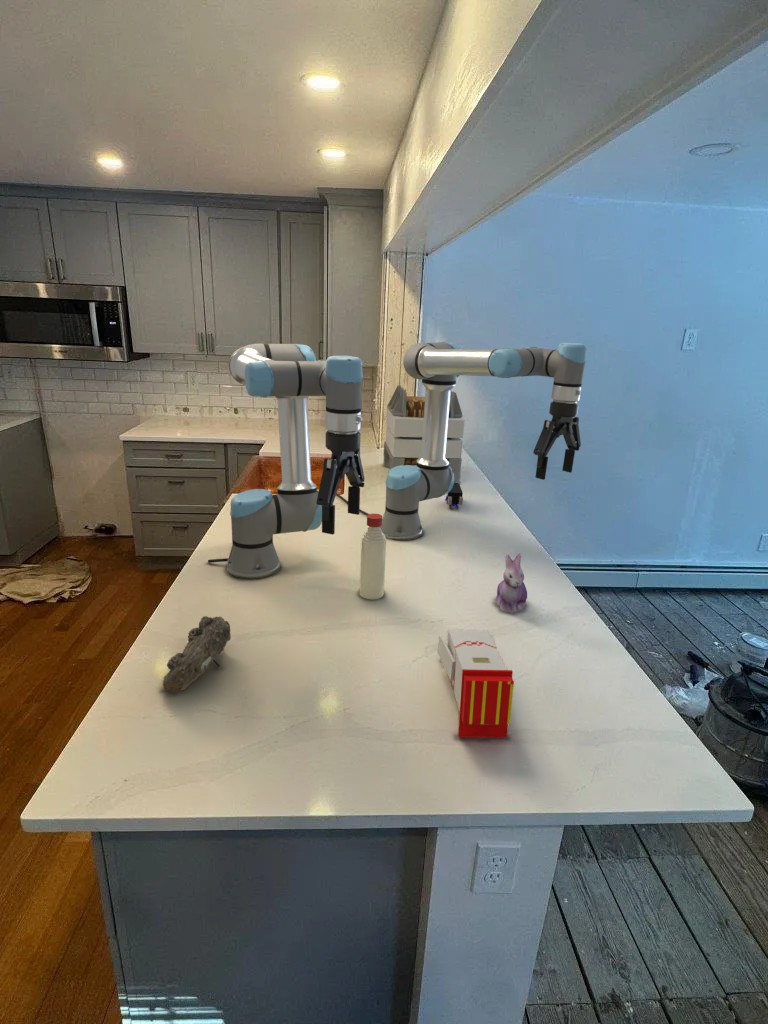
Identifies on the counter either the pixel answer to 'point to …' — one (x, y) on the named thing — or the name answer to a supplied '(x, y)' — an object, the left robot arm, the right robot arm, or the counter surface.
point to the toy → (478, 682)
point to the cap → (374, 520)
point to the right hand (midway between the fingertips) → (553, 475)
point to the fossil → (197, 653)
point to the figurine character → (454, 496)
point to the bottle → (372, 563)
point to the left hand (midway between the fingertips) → (341, 522)
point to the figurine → (512, 586)
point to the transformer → (419, 431)
